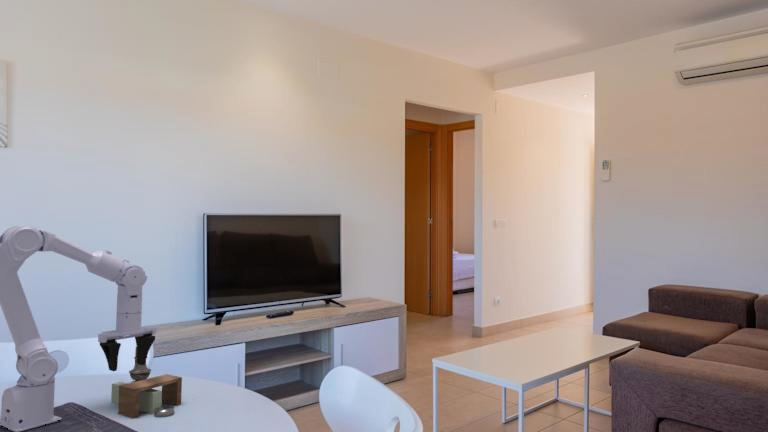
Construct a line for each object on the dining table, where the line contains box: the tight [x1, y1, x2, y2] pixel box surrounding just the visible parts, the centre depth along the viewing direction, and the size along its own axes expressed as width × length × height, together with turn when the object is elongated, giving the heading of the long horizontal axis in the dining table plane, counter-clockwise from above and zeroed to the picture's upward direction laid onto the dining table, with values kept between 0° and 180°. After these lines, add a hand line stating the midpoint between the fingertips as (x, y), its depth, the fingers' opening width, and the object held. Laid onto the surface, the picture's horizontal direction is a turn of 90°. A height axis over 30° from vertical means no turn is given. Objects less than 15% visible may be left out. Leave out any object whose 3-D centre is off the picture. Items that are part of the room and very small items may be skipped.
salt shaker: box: [128, 345, 152, 383], centre depth 153 cm, size 6×6×12 cm
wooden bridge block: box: [117, 373, 183, 419], centre depth 130 cm, size 13×6×7 cm, turn 149°
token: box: [153, 405, 175, 418], centre depth 126 cm, size 4×4×2 cm
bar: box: [110, 381, 163, 415], centre depth 132 cm, size 2×16×5 cm, turn 60°
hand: (127, 367), depth 134 cm, fingers open, 7 cm apart
